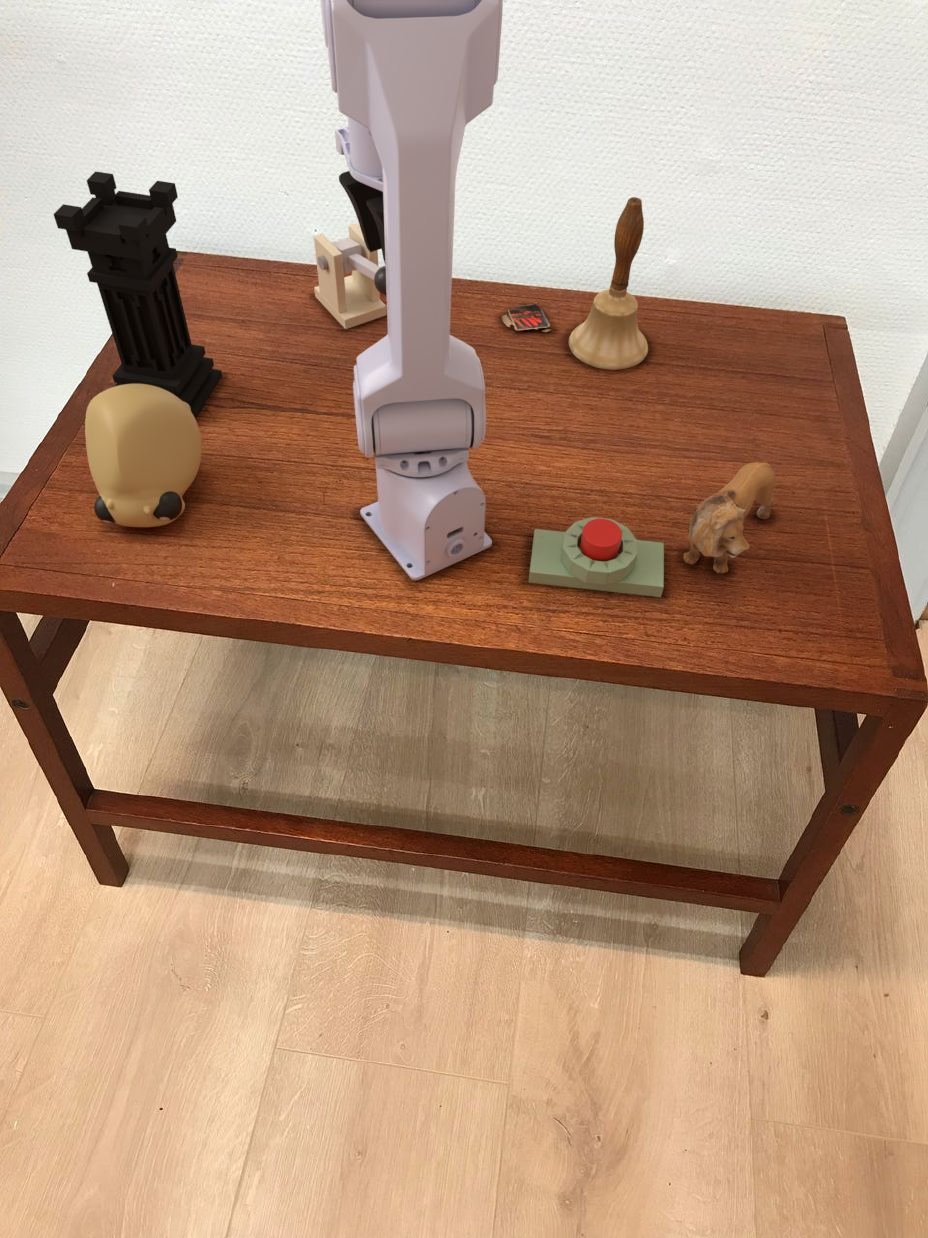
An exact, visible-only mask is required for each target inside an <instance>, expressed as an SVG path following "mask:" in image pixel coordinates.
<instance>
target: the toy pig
mask: <svg viewBox="0 0 928 1238" xmlns="http://www.w3.org/2000/svg"><path fill="white" fill-rule="evenodd" d="M114 386H115V385H114ZM114 386H111V387H109V388H107V389H105V390H103V391H101V392H99V393H98V394H97V395H95V396H94V397H93V398H92V399H90V402H89V403H88V405H87V407H86V411H85V420H84V429H85V430H84V434H85V448H86V449H85V450H86V455H87V463H88V466H89V467H88V468H89V471H90V474H91V477H92V480H93V482H94V484H95V488H96V490H97V493H98V496H97V498H96V500H95V501H94V505H93V509H94V513H95V516H96V517H97V518H98V520H100V521H101V522H104V523H106V524H107V523H108V524H116V525H119V526H122V527H129V528H155V527H161V526H166V525H169V524H170V523H172V522H174V521H176V520H177V519H178V518H179V517H180V516H181V515H182V514H183V513H184V511H185V508H186V504H185V501H184V499H183V496H184V494H185V493H186V492H187V490H188V489H189V488H190V486H191V485H192V483H194V480H195V479H196V476H197V474H198V472H199V469H200V467H201V466H200V465H201V461H202V455H203V453H202V452H203V441H202V435H201V431H200V428H199V424H198V422H197V419H195V418H194V416H193V414H192V412H191V408H190V406H189V405H188V404H187V403H186V402H183V401H182V400H180V399H179V398H178V397H177V396H175V395H174V394H172V393H170V392H169V391H166V390H164V389H162V388H159V387H156V386H152V385H147V384H125V385H119V386H115V387H114Z"/></svg>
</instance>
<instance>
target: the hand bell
mask: <svg viewBox="0 0 928 1238" xmlns="http://www.w3.org/2000/svg"><path fill="white" fill-rule="evenodd" d="M644 219H645V218H644V213H643V200H642V199H641V198H639V197H634V196H633V197H632V196H631V197H630V198H628V200H627V202H626V204H625V206H624V208H623V210H622V212H621V214H620V215H619V218H618V220H617V222H616V225H615V226H616V227H615V231H614V241H613V243H614V245H613V247H614V248H613V249H614V254H615V255H614V256H615V263H614V268H613V272H612V276H611V277H612V279H611V280H610V286H609V289H604V290H601V291H600V292H598V293H597V294H596V295H595V297H594V299H593V301H592V304H591V308H590V311H589V314H588V316H587V317H586V319H585V320H584V322H582V323H580V324H579V325H578V326H576V327H574V329H573V330H572V332H571V334H570V335H569V337H568V346H569V349H570V351H571V353H572V354H573V356H574V357H575V358H576V359H578V360H579V361H581V362H582V363H584V364H586V365H588V366H591V367H594V368H597V369H601V370H607V371H608V370H609V371H619V370H626V369H631V368H633V367H636V366H637V365H639V364H640V363H642V362H643V361H644V360H645V359H646V358H647V356H648V353H649V345H648V341H647V338H646V336H645V335H644V334H643V333H642V331H641V330H640V329H639V325H638V309H639V303H638V300H637V299H636V297H635V296H634V295H633V294H632V293H630V292H628V287H629V283H630V282H629V281H630V275H631V267H632V264H633V260H634V258H635V257H636V255H637V253H638V251H639V249H640V246H641V243H642V241H643V240H642V239H643V235H644V230H645V229H644V226H645V222H644V221H645V220H644Z"/></svg>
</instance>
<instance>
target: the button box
mask: <svg viewBox="0 0 928 1238" xmlns="http://www.w3.org/2000/svg"><path fill="white" fill-rule="evenodd" d="M594 519H607V520H611V521H613V522H614V523H616V524H617V525H618V526H619V527H620V529H621V531H622V539H621V544H620V548H619V552H618V554H617V555H616V556H615V557H614V558H612V559H610V560H607V561H597V560H593V559H591V558H589V557H587V556H586V555H585V554H584V553H583V551H582V550H581V546H580V544H581V538H582V532H583V528H584V526H585V525H586V523H588V522H589V521H591V520H594ZM527 583H529V584H531V583H532V584H539V585H548V586H557V587H565V588H576V589H584V590H591V591H592V590H593V591H599V592H601V591H602V592H609V593H620V594H627V595H637V596H646V597H656V598H662V595H663V591H664V588H665V543H664V542H662V541H661V542H659V541H651V540H642V539H637V538H636V537H635V535H634V534H633V532H632V531H631V530H630V528H629V527H627V526H626V525H623V524H621V523H620V522H618V521H616V520H614V519H612V518H606V517H599V516H598V517H596V516H591V517H587V518H584V519H581V520H577V521H574V522H573V524H571V526H570V527H568V528H567V529H566V531H558V530H551V529H541V528H534V530H533V538H532V548H531V555H530V565H529V574H528V582H527Z"/></svg>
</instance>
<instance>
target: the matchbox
mask: <svg viewBox="0 0 928 1238" xmlns="http://www.w3.org/2000/svg"><path fill="white" fill-rule="evenodd" d="M507 312H508V314H504V315H502V316H501V322H503V324H504V325H505V326H506V327H507V328H511V326H513V327H514V330H515V331H524V330H533V329H534V330H538V329H544V328H545V329H544V330H542V331H541V332H543V333H548V332H551V331H553V329H552V328H550V329H549V327H550V325H551V323H550V322H549V319H548V318H547V316H546V314H545V312H544V310H543V309H542V308H540V307H539V306H538V305H537V303H534V304H533V303H531V304H522V305H517V306H515V307H513V308H509V309H507Z"/></svg>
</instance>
